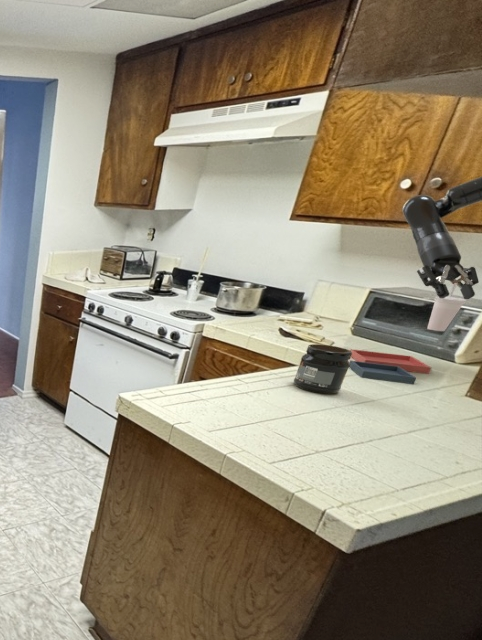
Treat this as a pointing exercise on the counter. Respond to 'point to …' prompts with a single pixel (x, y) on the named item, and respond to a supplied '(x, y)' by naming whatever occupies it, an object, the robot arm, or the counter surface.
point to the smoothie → (444, 311)
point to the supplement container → (323, 368)
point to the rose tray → (391, 360)
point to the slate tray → (382, 372)
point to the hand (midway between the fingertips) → (457, 297)
